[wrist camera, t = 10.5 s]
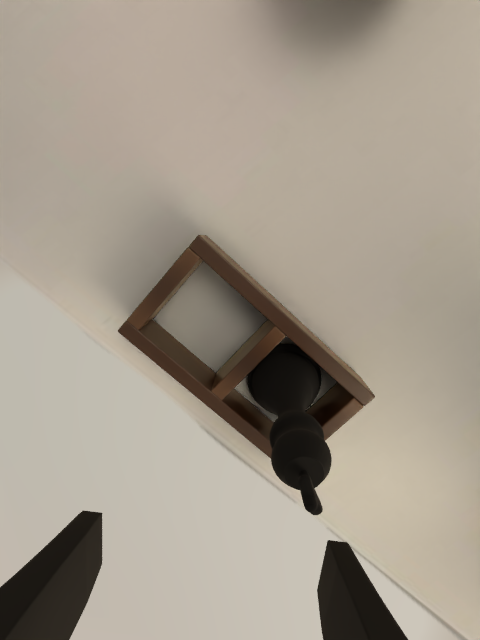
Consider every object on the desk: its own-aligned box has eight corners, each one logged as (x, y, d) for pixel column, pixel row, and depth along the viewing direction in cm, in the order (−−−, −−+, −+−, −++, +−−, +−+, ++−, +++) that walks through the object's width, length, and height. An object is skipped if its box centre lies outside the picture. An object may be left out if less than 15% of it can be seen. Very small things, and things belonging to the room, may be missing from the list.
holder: (284, 446, 21) (288, 473, 19) (134, 319, 19) (117, 331, 17) (361, 377, 20) (375, 397, 17) (206, 234, 18) (198, 234, 16)
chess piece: (306, 332, 19) (359, 429, 10) (330, 396, 20) (400, 545, 10) (236, 358, 20) (220, 474, 10) (262, 419, 21) (270, 579, 11)
